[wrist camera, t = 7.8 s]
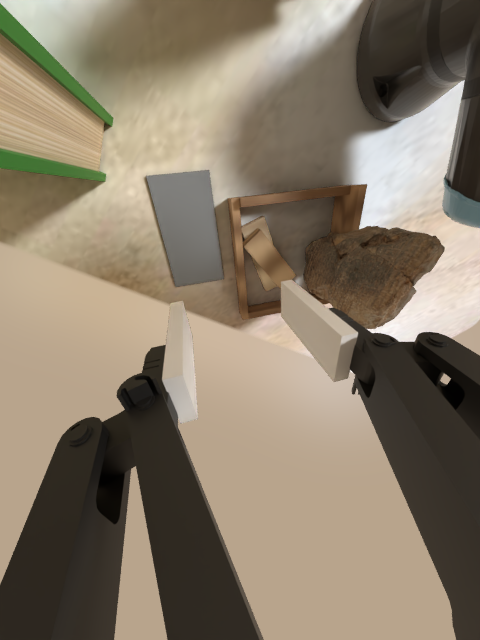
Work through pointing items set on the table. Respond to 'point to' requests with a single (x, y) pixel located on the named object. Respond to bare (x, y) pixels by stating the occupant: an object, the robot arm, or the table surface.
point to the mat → (188, 225)
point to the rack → (344, 209)
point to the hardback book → (45, 111)
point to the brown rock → (370, 270)
